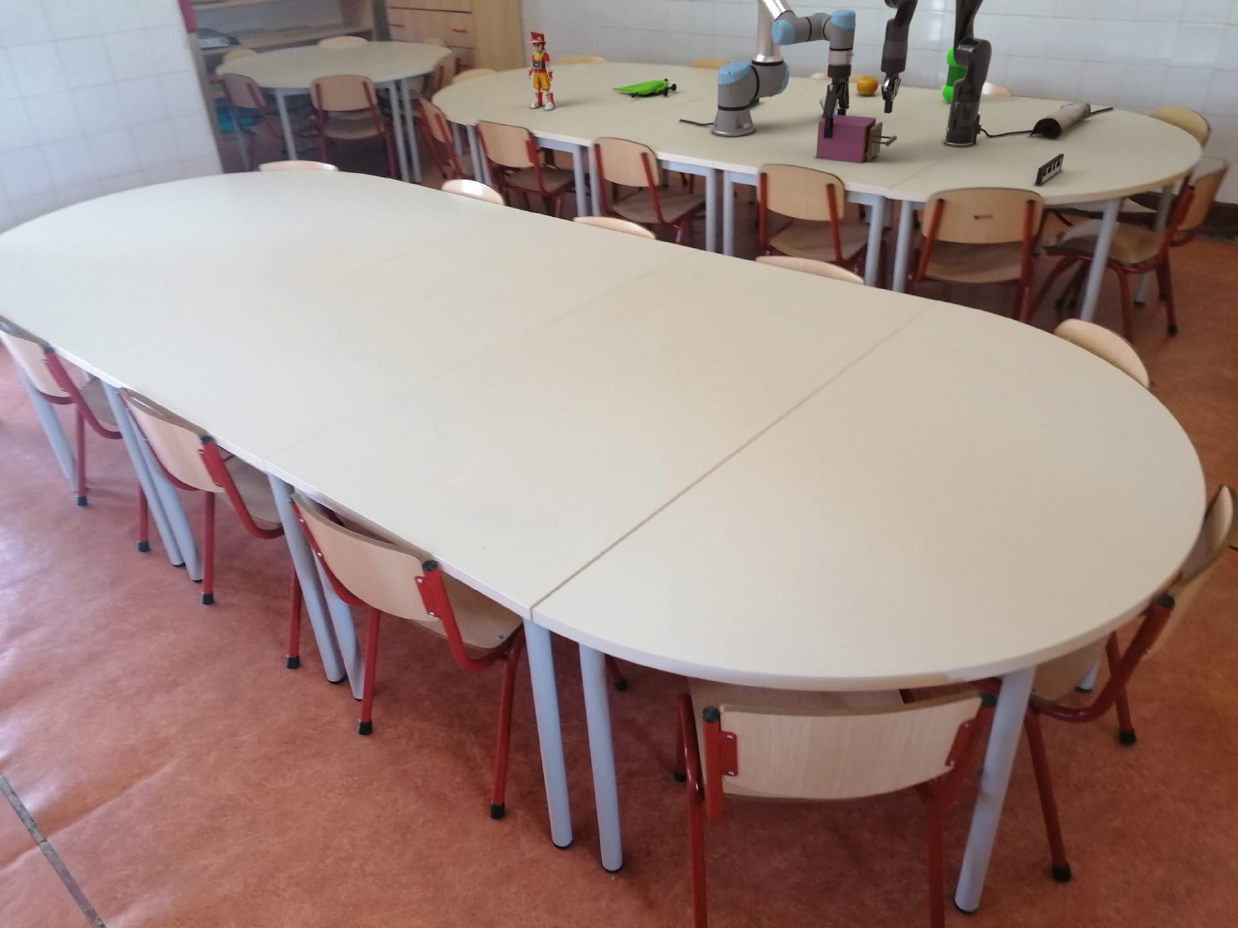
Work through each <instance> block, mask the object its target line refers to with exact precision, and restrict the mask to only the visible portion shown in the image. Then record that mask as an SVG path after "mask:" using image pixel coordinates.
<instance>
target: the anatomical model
mask: <svg viewBox="0 0 1238 928" xmlns="http://www.w3.org/2000/svg"><path fill="white" fill-rule="evenodd" d="M825 100H826V96H825V97H822V98H819V105H820V106H821V107H820V108H821V109H822V112H823V111H824V106H825ZM838 109H840V108H839V104H838V100H837V103H836V106H835V110H834V114H835V115H837V113H838ZM847 110H848V109H846V112H847ZM828 114H829V113H828Z"/></svg>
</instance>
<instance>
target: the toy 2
mask: <svg viewBox="0 0 1238 928" xmlns="http://www.w3.org/2000/svg"><path fill="white" fill-rule="evenodd" d="M669 85H670V83H669V79H668V78H664V79H663V80H649V81H644V82H640V83H634V84H629V85H627V86H621V87H613V88H612V89H613V90H616V91H619V92H623V93H627V94H628V93H629V94H631V95H630V96H631V98H632V99H634V98H636V96H637V95H650V94H652V93H654V94H658V93H662V95H663V96H665V97H667V96H668V95H669V90H671V91H672V92H676V91H677V84H676V83H672V84H671V86H669Z"/></svg>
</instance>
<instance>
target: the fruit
mask: <svg viewBox="0 0 1238 928" xmlns="http://www.w3.org/2000/svg"><path fill="white" fill-rule="evenodd" d="M878 89H879V82H878V80H877V78H875V77H873V76H870V75H868V76H862V77H860V79H859V80H858V81H857V83H856V91H857V93H858V94H859V95H861V96H871V95H872V96H873V95H874V94H875V93H876V92H877V91H878Z"/></svg>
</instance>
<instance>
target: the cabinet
mask: <svg viewBox="0 0 1238 928" xmlns="http://www.w3.org/2000/svg"><path fill="white" fill-rule="evenodd" d="M833 118H834V122H833V134H832V138H824V126H825V118H823V119H820V121H818V125H817V126H818V128H817V142H816V153H815V154H816V155H815V158H817V159H826V160H835V161H843V162H853V163H861V164H862V163H863V162H864V161H865V160H867V155H866V156H865V157H863V151H864V142H865V132H866V128H867V127H868V126H870V125H871V124H872V123H874V126H875V125H876V124H877V117H869V116H868V117H867V116H859V115H858V116H856V115H847V114H846V115H835V114H833Z"/></svg>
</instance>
